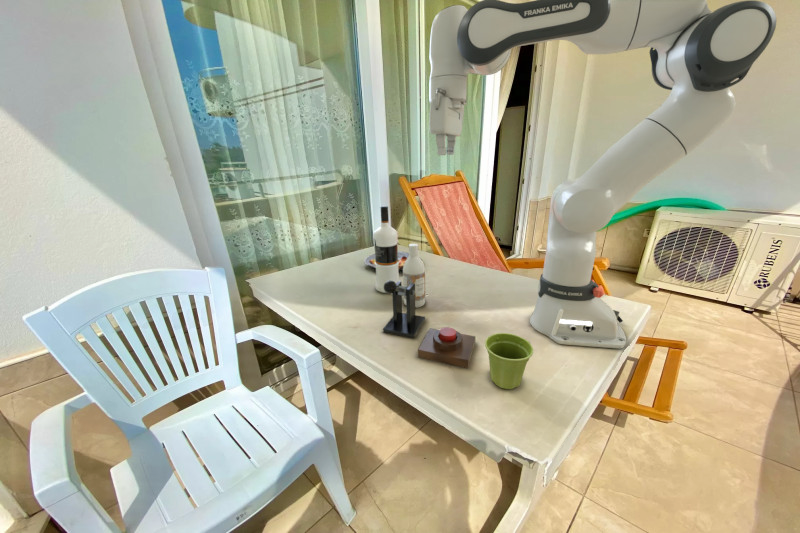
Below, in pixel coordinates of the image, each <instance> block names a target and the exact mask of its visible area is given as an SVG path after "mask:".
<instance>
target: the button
mask: <svg viewBox="0 0 800 533" xmlns="http://www.w3.org/2000/svg"><path fill="white" fill-rule="evenodd" d="M439 330H440V336H439V337H440V339H441V340H442V341H445V342H453V341H455V340H456V331H457V330H456V329H454V327H449V326H446V327H442V328H440V329H439Z"/></svg>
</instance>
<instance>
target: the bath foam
mask: <svg viewBox="0 0 800 533" xmlns="http://www.w3.org/2000/svg"><path fill="white" fill-rule="evenodd" d="M408 253H409V257H408V258H407V260H406V261H405V263H404V266H403V270H402V284H403V285H402V286H404V287H408V286H409V285H410V284H411V283H415V309H417V308H420V307H422V306H424V305H425V303H426V268H425V264H424V262H423V259H422V258H421V257H420V255H419V244H418V243H409V244H408ZM420 258H421V259H422V260H421V259H420ZM403 304H404V305H405V306H406V296H403Z"/></svg>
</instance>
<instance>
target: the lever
mask: <svg viewBox="0 0 800 533" xmlns="http://www.w3.org/2000/svg"><path fill="white" fill-rule="evenodd" d="M407 288H408V287H404V286H403V285H402V286H399V287H397V285H396V283H395V282H394V281H391V280H390V281H387V282H386V283H385V284H384V290H385V292H387V293H386V294H391V295H392V293H394V292H395V291H397V292H398V295H401V296H402V297H404V296H406V289H407Z"/></svg>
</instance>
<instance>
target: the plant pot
mask: <svg viewBox="0 0 800 533" xmlns="http://www.w3.org/2000/svg"><path fill="white" fill-rule="evenodd" d="M484 347H485V349H486V352H487V354H488V363H489V374H490V380H491V381H492V382H493V383H494V384H495V385H496V386H497V387H499V388H501V389H504V390H513V389H515V388H518V387H520V385H521V382H522V379H523V376H524V373H525V369H526V366H527V363H528V362H529V360H530V358H532V356H533V355H534V347H533V345H532V343H530V341H529V340H527V339H526V338H524V337H521V336H519V335H517V334H515V333H514V334H513V333H508V332H498V333H493V334H491V335H488V336H487V337H486V339H485V341H484Z"/></svg>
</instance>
